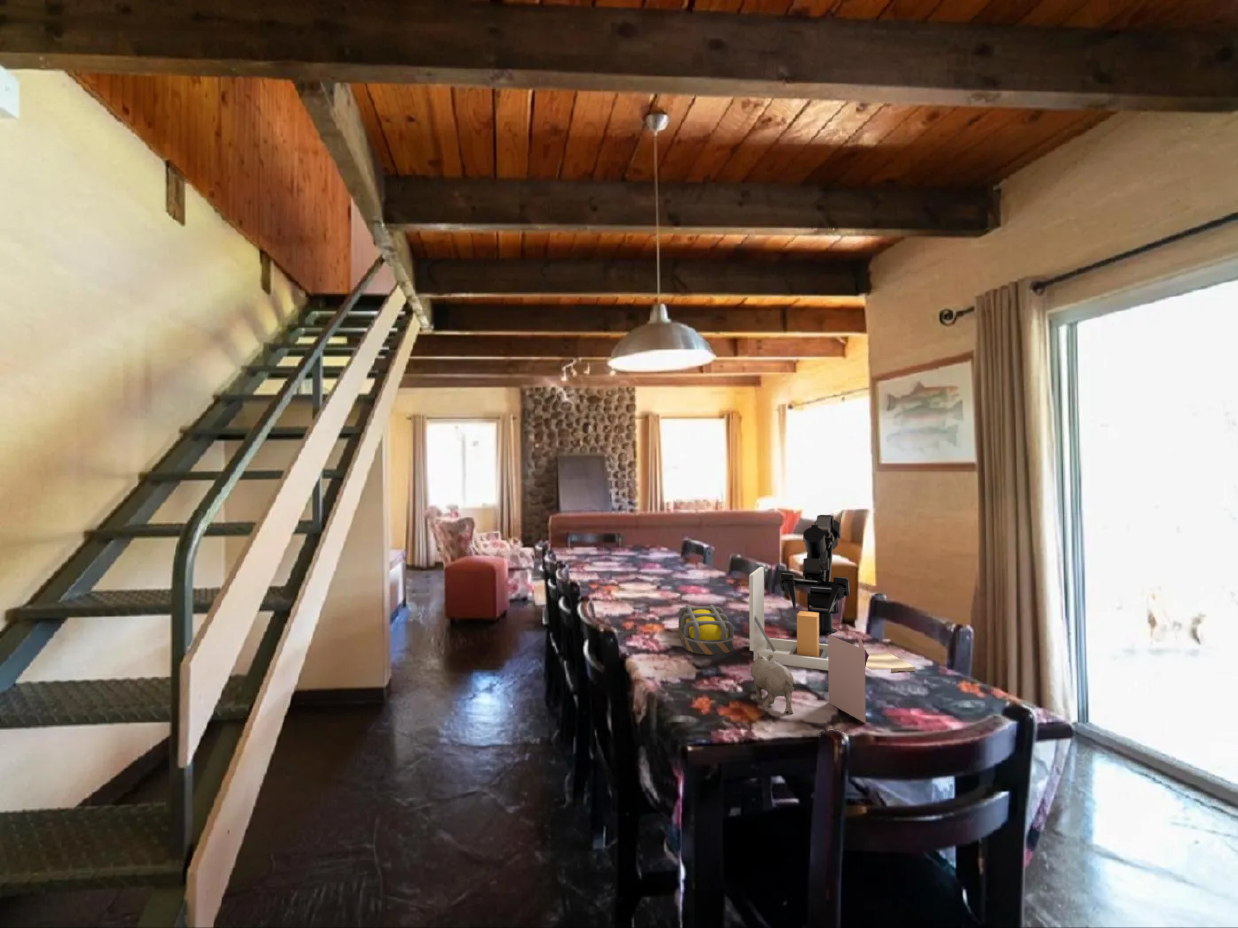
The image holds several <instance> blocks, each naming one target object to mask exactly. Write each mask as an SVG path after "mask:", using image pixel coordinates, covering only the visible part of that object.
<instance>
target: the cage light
mask: <svg viewBox="0 0 1238 928" xmlns="http://www.w3.org/2000/svg"><path fill="white" fill-rule="evenodd" d="M734 629H735V628H734V625H733V624H732V622H730V621H729V618H728V616H727V614H725V613H724V610H723V608H721V607H720V606H715V605H714V604H709V605H708V606H691V605H689V604H686V605H685V606H683V607H681V608H680V609H679V611H678V636H679V637H680V640H681V643H682V647H683V649H685V651H688V652H690V651H691V653H695V654H700V655H701V654H702V655H711V656H712V655H722V654H728V653H730V652H732V651H733V650H734V648H735V639H734V638H735V637H734V634H735V632H734Z"/></svg>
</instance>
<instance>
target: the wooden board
mask: <svg viewBox="0 0 1238 928" xmlns="http://www.w3.org/2000/svg"><path fill="white" fill-rule="evenodd" d="M867 653H868V652H867ZM868 655H869V657H868V659H867V662H866V667H865V668H868V669H870V670H871V671H873V670H889V669H890V673H899V672H898V671H905V672H915V671H916V666H915V665H912V664H911V663H908V662H907V661H905V660H903V659H901V658H899V657H897V656H896V655H893V654H892V653H890V652H873V653H868Z"/></svg>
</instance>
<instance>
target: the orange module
mask: <svg viewBox="0 0 1238 928" xmlns="http://www.w3.org/2000/svg"><path fill="white" fill-rule="evenodd" d="M796 641H797V654H799V655H807V656H815V657H819V643H820V633H819V613H817V612H808V611H805V610H804V611H803V610H799V612H798V613H796Z"/></svg>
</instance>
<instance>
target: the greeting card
mask: <svg viewBox="0 0 1238 928" xmlns="http://www.w3.org/2000/svg"><path fill="white" fill-rule="evenodd" d="M827 644H828V670H827V672H828V673H827V676H828V679H827V681H828V703H829V704H830V705H832V706H833V707H835V708H838V709H839V710H841V711H843V712H845V713H846V714H849V716H852V717H854V718H855V719H856V720H859V721H860V722H862V723H864V724H866V720H867V719H866V717H867V716H866V715H867V714H866V712H867V711H866V709H867V708H866V668H867V667H866V662H867V659H868V657H869V655H868V652H867V650H866V649H865V646H864V644H863V641H862V639H861V636H860V635H858V645H855V644H852V643H850V642H847V641H844V640H843V639H839V638H838V637H834V636H833V635H831V634H827Z"/></svg>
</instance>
